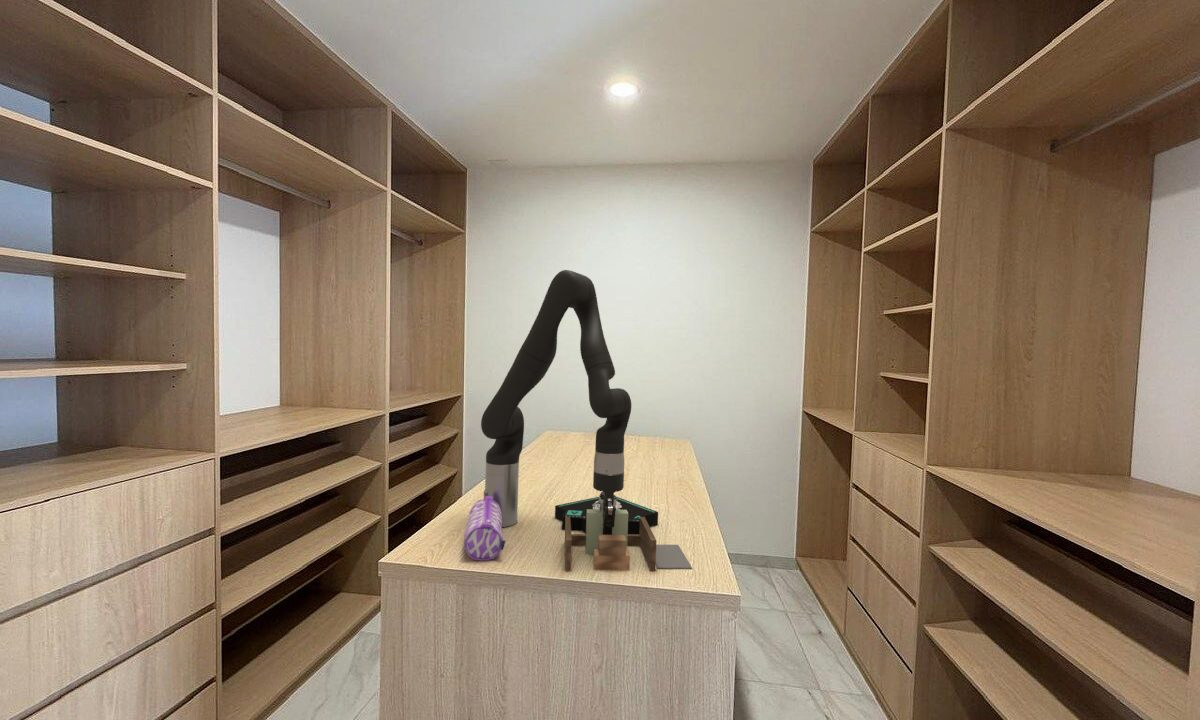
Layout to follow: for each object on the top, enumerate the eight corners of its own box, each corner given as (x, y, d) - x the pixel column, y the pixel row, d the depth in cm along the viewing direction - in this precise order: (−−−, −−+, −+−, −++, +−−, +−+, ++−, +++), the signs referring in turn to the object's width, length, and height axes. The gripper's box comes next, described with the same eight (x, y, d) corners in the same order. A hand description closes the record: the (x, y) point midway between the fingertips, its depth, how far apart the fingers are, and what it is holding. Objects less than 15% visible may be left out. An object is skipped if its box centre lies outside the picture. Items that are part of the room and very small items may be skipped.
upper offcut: (599, 555, 117) (599, 540, 117) (598, 549, 121) (598, 534, 121) (625, 555, 118) (626, 540, 118) (623, 549, 121) (624, 535, 121)
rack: (565, 570, 116) (566, 539, 116) (564, 543, 132) (565, 516, 132) (655, 570, 118) (656, 540, 118) (643, 544, 134) (644, 517, 134)
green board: (586, 554, 126) (587, 513, 126) (585, 549, 129) (586, 509, 129) (626, 554, 127) (628, 513, 127) (625, 549, 130) (626, 509, 130)
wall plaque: (658, 545, 134) (657, 510, 164) (658, 530, 134) (657, 497, 164) (544, 537, 137) (563, 504, 167) (544, 522, 137) (563, 491, 167)
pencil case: (504, 562, 120) (505, 522, 120) (463, 565, 118) (464, 523, 118) (500, 529, 142) (501, 495, 141) (465, 531, 140) (466, 496, 139)
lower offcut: (594, 570, 118) (594, 555, 118) (593, 564, 121) (594, 549, 121) (629, 571, 118) (629, 555, 118) (627, 564, 122) (628, 549, 121)
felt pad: (657, 568, 119) (657, 567, 119) (647, 545, 133) (647, 544, 133) (692, 568, 120) (692, 567, 120) (678, 545, 134) (678, 544, 134)
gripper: (591, 463, 134) (589, 529, 135) (595, 476, 120) (593, 550, 121) (620, 463, 135) (618, 529, 135) (627, 476, 121) (625, 550, 121)
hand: (606, 538), depth 128 cm, fingers closed on green board, 3 cm apart
